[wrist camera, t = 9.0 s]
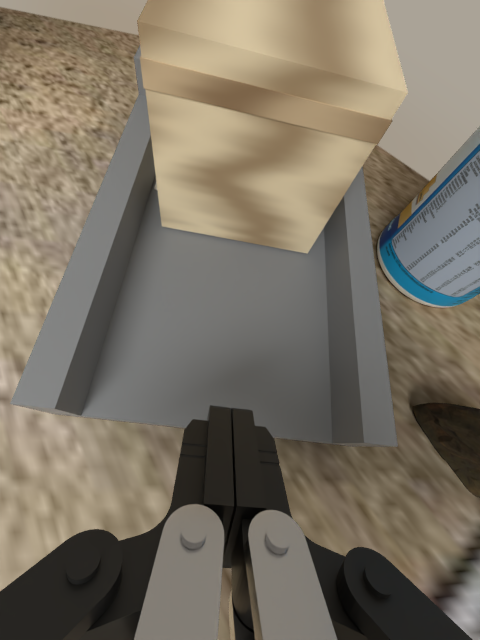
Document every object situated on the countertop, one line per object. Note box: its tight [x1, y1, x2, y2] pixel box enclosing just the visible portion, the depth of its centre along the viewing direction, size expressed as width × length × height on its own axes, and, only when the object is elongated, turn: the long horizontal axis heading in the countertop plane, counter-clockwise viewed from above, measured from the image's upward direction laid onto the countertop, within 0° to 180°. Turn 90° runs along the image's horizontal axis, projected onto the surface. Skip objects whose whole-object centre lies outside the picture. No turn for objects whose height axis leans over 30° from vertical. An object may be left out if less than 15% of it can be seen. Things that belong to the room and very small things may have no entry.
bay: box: [10, 46, 398, 447], centre depth 17 cm, size 16×22×6 cm
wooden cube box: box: [137, 0, 408, 254], centre depth 16 cm, size 10×8×10 cm
